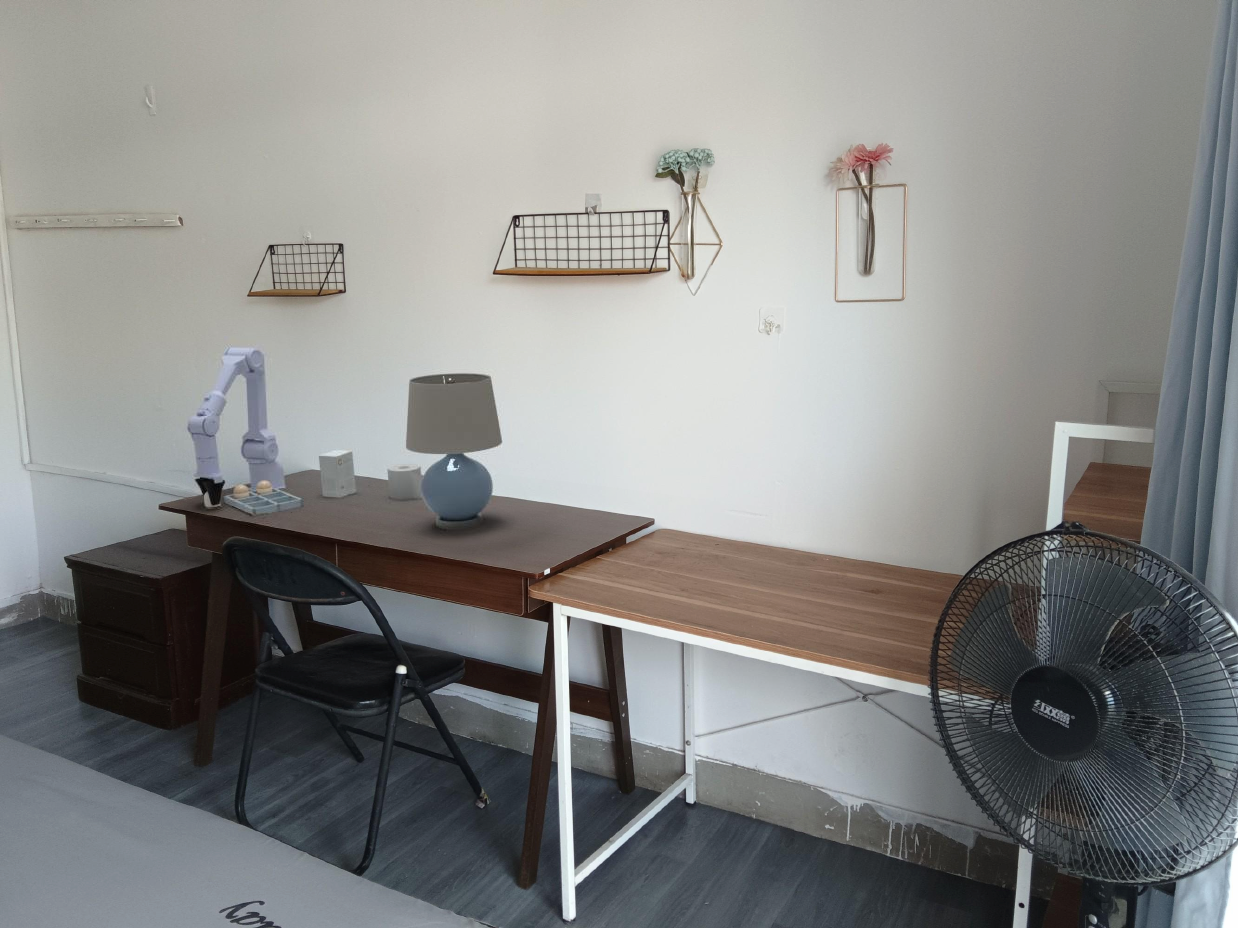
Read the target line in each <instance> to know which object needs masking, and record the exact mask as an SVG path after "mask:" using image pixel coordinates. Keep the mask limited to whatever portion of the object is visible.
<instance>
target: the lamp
mask: <svg viewBox="0 0 1238 928" xmlns="http://www.w3.org/2000/svg"><path fill="white" fill-rule="evenodd" d="M493 388H494V387H493V382H492V376H491V375H489V374H485V373H484V374H483V373H472V372H470V373H466V372H465V373H464V372H461V373H460V372H459V373H458V372H457V373H437V374H428V375H422V376H417V377H413V378H410V379H409V382H408V400H407V415H406V416H407V418H406V436H405V437H406V439H405V448H406V450H407V451H410V452H413V453H418V454H419V453H420V454H425V455H427V454H429V455H445V456H444V457H443V458H441V459H439V460H438V461H435V462H434V463H433V464H432V465H430V466H429V467H428V468H427V470H426V471H425V472H424V474H423V475H424V476H423V479H422V483H421V493H422V497H423V498H422V499H423V502H424V503H425V505H426V507H427V508H428V509H429V510H430V511H431V512H432V513H433V514H434V515H435V525H436V527H437V528H438V529H440V528H441V529H440V530H444V529H446V531H465V530H469V529H470V530H471V529H474V528H477V527H479V526H481V525H482V524H483V515H482V511H483V510H485V508H486V507H487V506H488V504H489V503H490V501H491V498H492V495H493V491H494V490H493V489H494V487H493V486H494V482H493V479H492V475H491V473H490V472H489V471H488V468H487V467H486V466H485V465H484V464H483V463H481V462H480V461H477V460H476V459H474V458H472V457H469V456H467V455H466V454H467V453H476V452H481V451H486V450H487V451H488V450H490V449H494V448H496V447H498V446H500V445H502V443H503V440H502V439H503V438H502V434H501V428H500V422H499V415H498V410H497V405H496V398H495V394H494V389H493Z"/></svg>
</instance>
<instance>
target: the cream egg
mask: <svg viewBox="0 0 1238 928" xmlns="http://www.w3.org/2000/svg"><path fill="white" fill-rule="evenodd" d="M203 501H204V507H205V506H206V507H217V506H220V507H221V506H222V504H221V503H222V502H221V501H220V504H218V505H211V502H210V499H209V495H208V492H206V493H205V495H204V497H203ZM217 508H218V507H217Z"/></svg>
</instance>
